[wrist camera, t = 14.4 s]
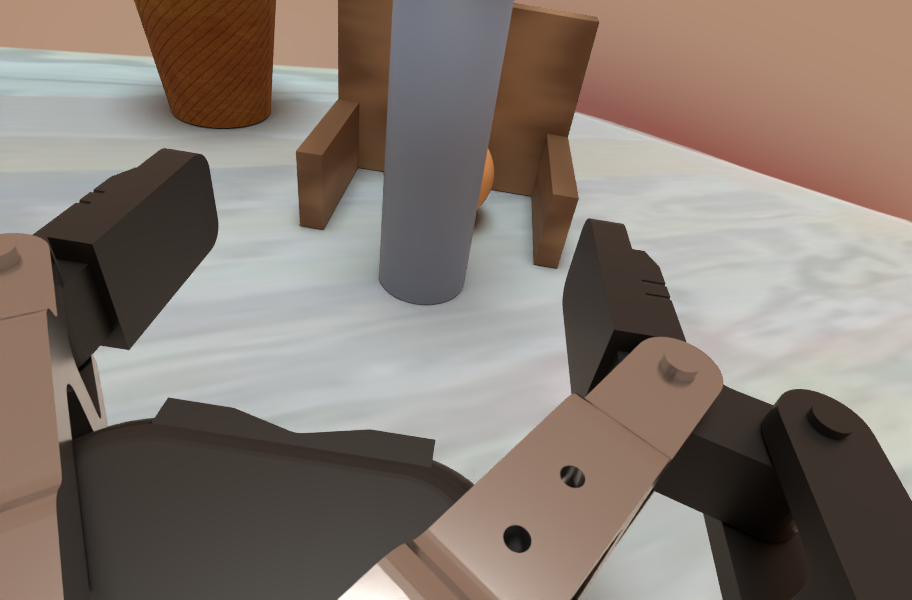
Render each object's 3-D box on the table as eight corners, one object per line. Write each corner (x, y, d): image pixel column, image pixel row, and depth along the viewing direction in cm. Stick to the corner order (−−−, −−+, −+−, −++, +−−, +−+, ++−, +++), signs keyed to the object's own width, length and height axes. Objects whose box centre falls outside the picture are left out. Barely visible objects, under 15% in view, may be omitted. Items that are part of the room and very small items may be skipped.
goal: (300, 225, 27) (287, 6, 21) (343, 156, 34) (344, -26, 28) (557, 268, 27) (620, 62, 21) (550, 190, 34) (596, 17, 28)
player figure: (362, 299, 24) (377, -266, 13) (383, 243, 27) (409, -236, 16) (466, 316, 24) (570, -233, 13) (473, 257, 27) (559, -210, 16)
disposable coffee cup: (115, 101, 36) (55, -127, 28) (241, 78, 42) (219, -114, 35) (198, 152, 32) (153, -98, 24) (323, 119, 38) (319, -88, 31)
